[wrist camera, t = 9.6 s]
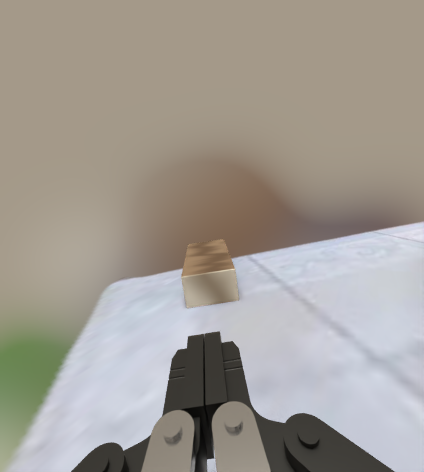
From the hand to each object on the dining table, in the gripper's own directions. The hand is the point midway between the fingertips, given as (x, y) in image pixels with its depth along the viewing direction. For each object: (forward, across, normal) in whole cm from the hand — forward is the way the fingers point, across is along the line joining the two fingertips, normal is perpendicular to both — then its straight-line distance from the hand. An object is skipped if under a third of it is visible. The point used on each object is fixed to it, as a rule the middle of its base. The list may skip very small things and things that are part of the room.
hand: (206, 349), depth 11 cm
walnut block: (+18, 0, +6) cm, 19 cm away
